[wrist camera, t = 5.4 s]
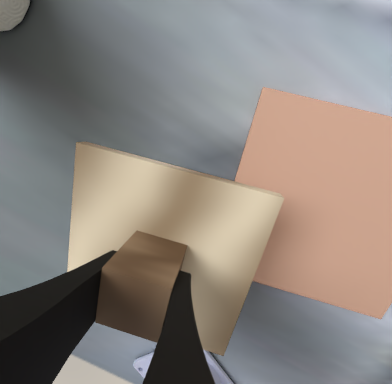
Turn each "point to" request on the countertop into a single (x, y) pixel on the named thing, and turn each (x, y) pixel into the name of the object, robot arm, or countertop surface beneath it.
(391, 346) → the countertop surface
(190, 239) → the lid
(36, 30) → the countertop surface
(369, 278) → the mat
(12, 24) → the paper towel roll
